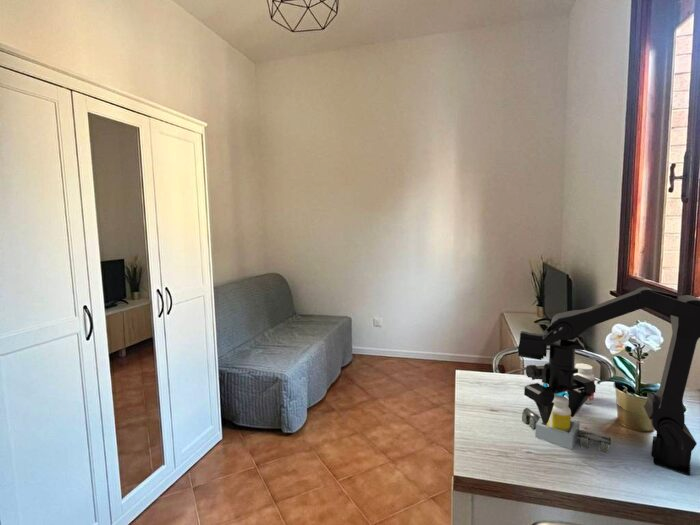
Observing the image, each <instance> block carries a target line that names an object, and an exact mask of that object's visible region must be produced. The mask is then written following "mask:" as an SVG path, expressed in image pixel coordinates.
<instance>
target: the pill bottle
mask: <svg viewBox="0 0 700 525" xmlns="http://www.w3.org/2000/svg"><path fill="white" fill-rule="evenodd" d="M574 368H577V369H578V373H575V374H574V375H580V376H582V377H584V378H586V379H589V380H591V381H593V382H594V384H595V381H596V380H595V379H596V378H595V375H594V374H593V371H594V369H593V366H592V365H590V364H588V363H587V364H586V363H575V364H574ZM595 385H596V384H595ZM591 394H592V395H591V396H590V397H589V398H588V399H587V400H586V401H585V403H584V404H592V403H593V402H594V398H595V393H591Z"/></svg>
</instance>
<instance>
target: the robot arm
mask: <svg viewBox="0 0 700 525" xmlns="http://www.w3.org/2000/svg"><path fill="white" fill-rule="evenodd" d="M645 308H650V309H654V310H657V311H659V312H661V313H664V314H667V315H669V316H670V325H671V331H672V334H671V338H670V342H669V347H668V352H667V354H666V359H665V364H664V367H663V368H664V369H663V371H662V377H661V381H660V385H659V388H658V390H657V391H656V392H655V393H654V394H653V393H651V392H649V391H648V392H646V393H647V395H646V398H647V399H646V402H645V404H644V405H643V408H644V410H645V412H646V415H647V416H648V419H649V421H650V423H651V425H652V428H653V429H654V430H655V431H656V435H653V437H652V443H651V444H652V445H651V453H650V454H651V455H650V456H651V457H652V458H653V461H652V463H653V464H655V465H657V466H660V467H663V468H666V469H668V470H671V471H675V472H678V473H680V474H684V475H687V476H691V473H692V472H691V459H692V451H693V450H694V449H695V448H696V446H697V441H696V440H695V438H694V436H693V435H692V433H691V431H690V430H689V428H688V427H687V425H686V424H685V416H686V415H685V407H684V401H683V399H684V396H685V392H686V387H687V383H688V380H689V376H690V370H691V367H692V362H693V358H694V354H695V350H696V346H697V343H698V341H699V339H700V298H698V297H696V296H694V295H691V294H690V295H689V294H684V295H680V296H678V295H675V294H671V293H669V292H664V291H659V290H655V289H652V288H649V287H648V286H647V287H646V286H641V287H638V288H637V289H635V290H633V291H630V292H628V293H625V294H623V295H619V296H617V297H614V298H611V299H609V300H606V301H603V302H601V303H598V304H596V305H592V306H590V307H588V308H584V309H576V310H575V309H574V310H569V311H563V312H559V313H556V314H554V315H553V317H552V318H551V322H550V325H549V326H547V328H546V329H545V330H544V331H543V332H542V333H536V332H535V333H534V332H529V331H524V330H522V331H520V333H519V343H518V347H517V356H518V357H520V358H525V359H526V358H527V359H532V360H533V359H534V360H539V361H542V359H543V360H544V358H546V357H547V353H548V352H547V350H548V346H549V354H548V355H549V356H548V358H549V359H548V362H546V363H545V364H544V365H536V364H528V365H526V368H525V373H526V377H527V378H531V380H532V381H534V380H540V381H541V382H542V384H540V383H539V382H535V383H530V384H527V385H526V386H524V388H523V389H524V390H523V392H524V393H523V394H524V396H526V397H528V398H529V399H530V400H532V401H533V402H535V404H536V406H537V409H538V412H539V416H540V417H541V418H542V421H543V423H545V424H547V423H548V420H549V418H550V415H551V412H552V409H553V406H554V403H553V402H552V401H553V400H554V394H558V393H563V392H566V393H568V397H567V399H568V400H569V408H570V410H571V418H573V417H575V416H576V414H577V413H578V412H579V411H580V409H581V407H582V406H583V405H584V404H585V401H586V400H587V399H588V398H589V397H590V396H591V395H592V394H591V393H594V394H595V393H596V389H597V388H596V384H594V382H593V381H591V380H589V379H586V378H584V377H582V376H580V375H574V374H575V373H578V369H577V368H575V364H576V363H575V359H576V350H581V351H583V350H585V344H584V343H583V342H581V341H580V339H579V337H578V336H580V335H582V334H583V333H585V332H586V331H587V330H589V329H590V328H592V327H594V326H596V325H598V324H600V323H605V322H608V321H610V320H613V319H615V318H618V317H621V316H624V315H627V314H631V313H633V312H636V311H638V310H641V309H645ZM543 383H545V384H548V387H544V386H543Z"/></svg>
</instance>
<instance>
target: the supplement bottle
mask: <svg viewBox="0 0 700 525" xmlns="http://www.w3.org/2000/svg"><path fill="white" fill-rule="evenodd" d="M552 402H553V403H554V406H553V409H552V412H551V415H550V418H549V420H548V423H547V426H549V427H552V428H555V429H558V430H561V431H564V432H567V433H569V432H570V421H571V420H572V417H571V410H570V408H569V407H568V404H569V399H568V397H567V396H564V397H563V396H560V395H554V400H553V401H552Z"/></svg>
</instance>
